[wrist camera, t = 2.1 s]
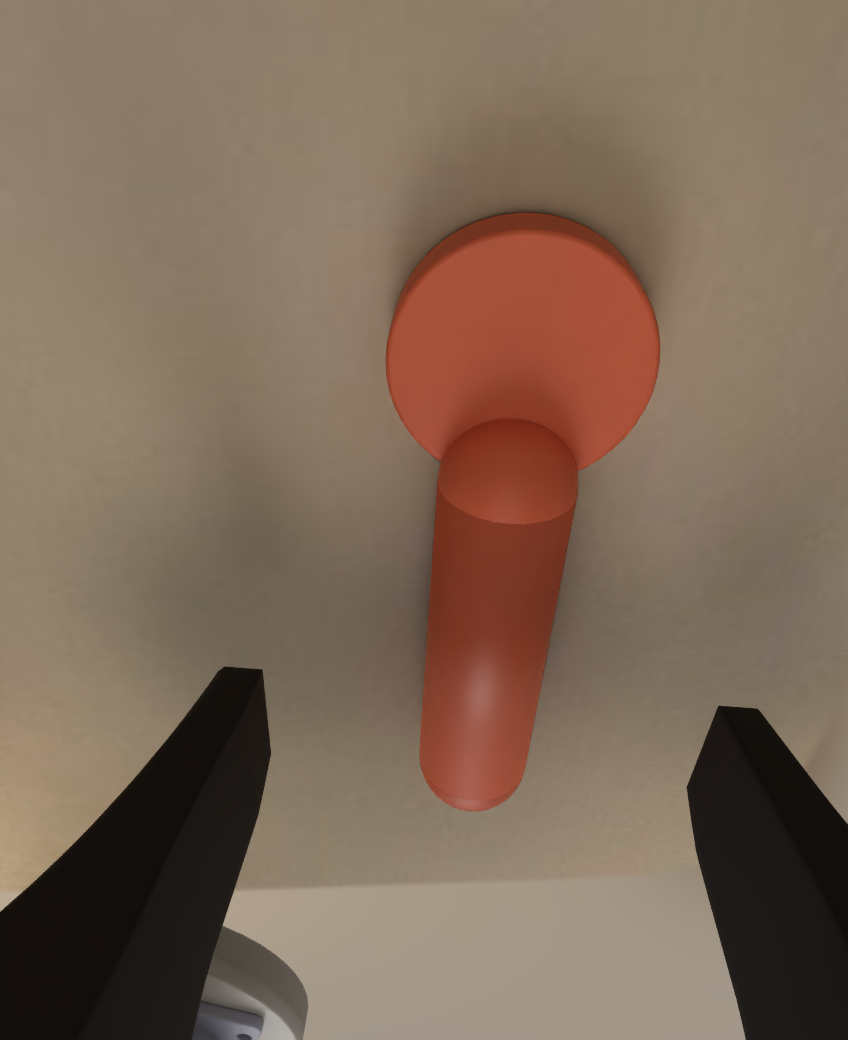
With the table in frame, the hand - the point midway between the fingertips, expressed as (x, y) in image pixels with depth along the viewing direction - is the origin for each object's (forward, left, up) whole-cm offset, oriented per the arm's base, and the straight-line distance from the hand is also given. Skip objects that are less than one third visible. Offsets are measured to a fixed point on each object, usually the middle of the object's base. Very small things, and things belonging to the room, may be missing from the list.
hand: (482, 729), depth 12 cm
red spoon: (+2, +1, -2) cm, 3 cm away
